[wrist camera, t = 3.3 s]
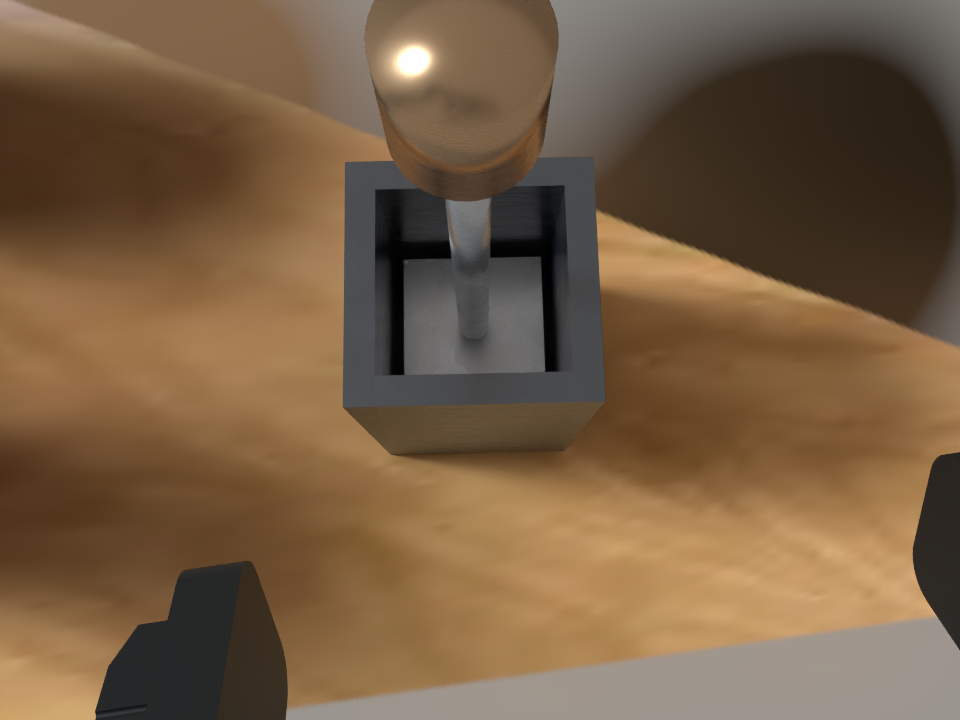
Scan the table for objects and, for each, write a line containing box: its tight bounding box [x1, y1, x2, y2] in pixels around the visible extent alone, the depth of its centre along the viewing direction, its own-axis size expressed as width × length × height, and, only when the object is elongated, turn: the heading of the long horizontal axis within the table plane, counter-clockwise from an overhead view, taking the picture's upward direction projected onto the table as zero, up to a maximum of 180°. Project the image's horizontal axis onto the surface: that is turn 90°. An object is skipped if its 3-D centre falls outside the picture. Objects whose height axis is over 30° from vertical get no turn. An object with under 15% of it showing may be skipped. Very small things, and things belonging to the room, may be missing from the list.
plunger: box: [364, 0, 559, 375], centre depth 31 cm, size 7×7×26 cm
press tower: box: [343, 157, 606, 455], centre depth 44 cm, size 10×10×18 cm
